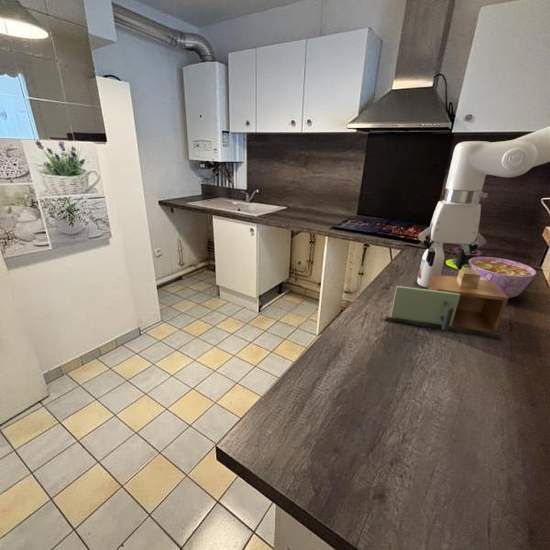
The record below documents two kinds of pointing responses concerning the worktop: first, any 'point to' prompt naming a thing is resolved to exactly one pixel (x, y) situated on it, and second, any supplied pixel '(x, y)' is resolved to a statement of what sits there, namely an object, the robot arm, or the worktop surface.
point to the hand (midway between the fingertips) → (444, 265)
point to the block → (468, 278)
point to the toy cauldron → (472, 255)
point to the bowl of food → (503, 273)
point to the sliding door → (425, 305)
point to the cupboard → (469, 306)
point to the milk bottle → (435, 269)
